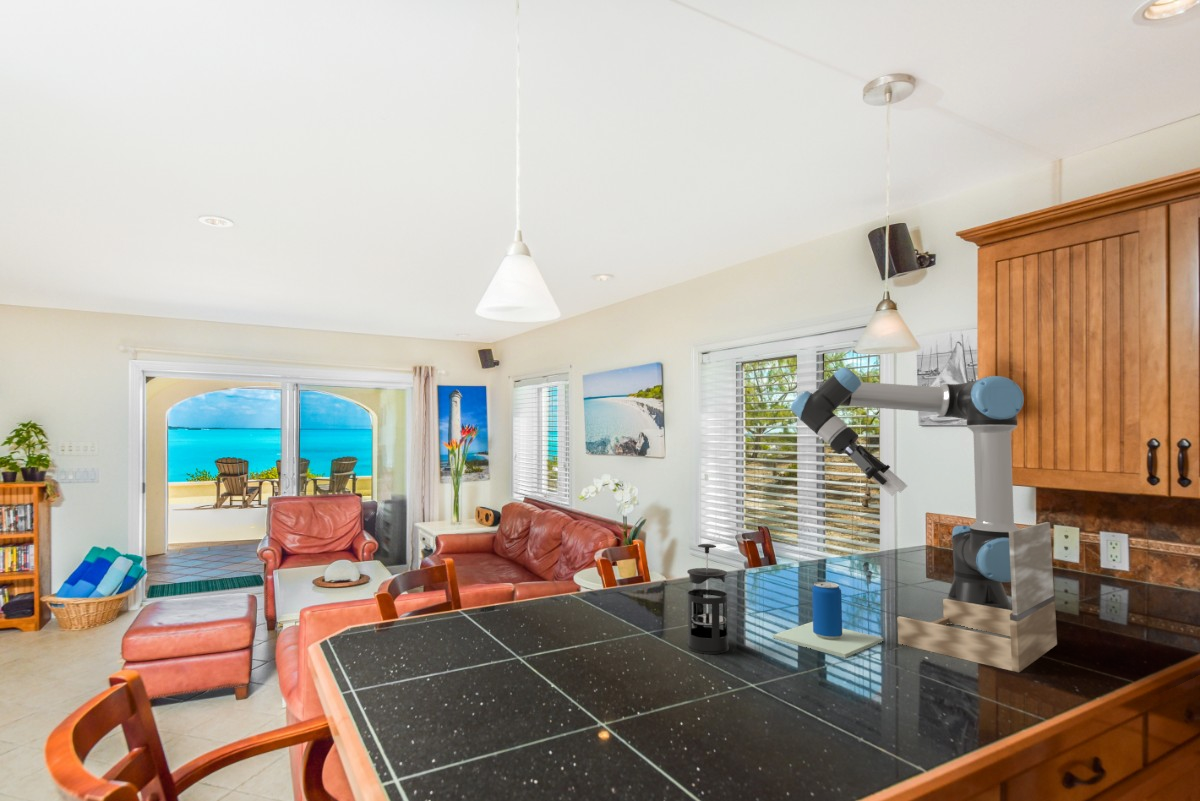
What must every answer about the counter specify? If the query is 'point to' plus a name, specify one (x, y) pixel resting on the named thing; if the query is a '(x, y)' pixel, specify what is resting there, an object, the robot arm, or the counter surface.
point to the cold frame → (999, 613)
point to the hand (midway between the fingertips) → (900, 490)
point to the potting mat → (829, 640)
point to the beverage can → (827, 610)
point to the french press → (700, 636)
